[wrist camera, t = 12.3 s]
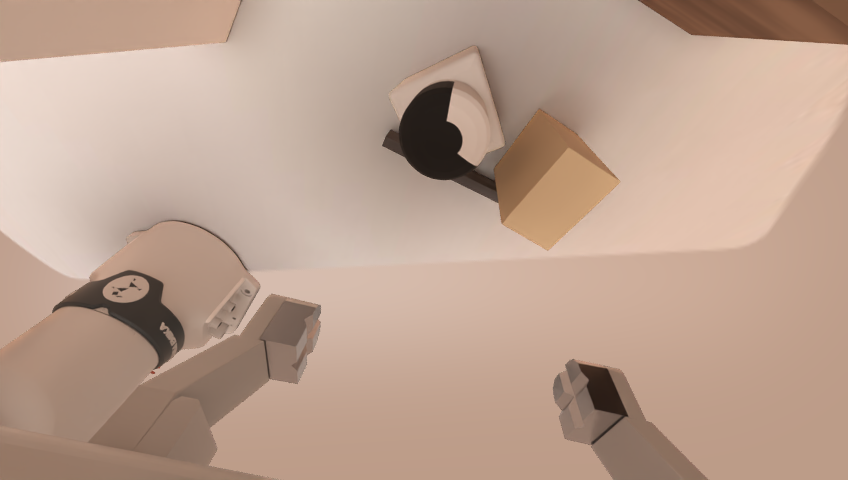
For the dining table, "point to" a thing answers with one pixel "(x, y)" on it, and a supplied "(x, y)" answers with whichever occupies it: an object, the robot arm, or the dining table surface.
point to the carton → (549, 181)
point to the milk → (109, 26)
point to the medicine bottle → (447, 117)
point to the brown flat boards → (725, 17)
